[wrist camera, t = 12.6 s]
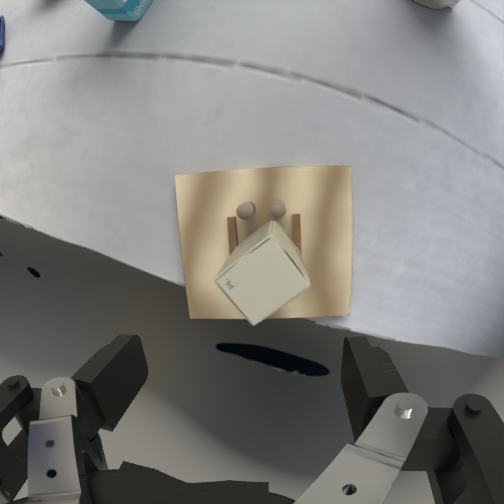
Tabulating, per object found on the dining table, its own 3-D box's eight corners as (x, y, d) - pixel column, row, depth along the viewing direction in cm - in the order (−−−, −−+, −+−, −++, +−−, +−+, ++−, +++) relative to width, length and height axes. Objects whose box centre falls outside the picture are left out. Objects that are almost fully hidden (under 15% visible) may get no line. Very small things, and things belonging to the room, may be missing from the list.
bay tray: (347, 166, 29) (359, 163, 24) (346, 309, 32) (356, 329, 28) (179, 175, 31) (162, 174, 26) (193, 313, 34) (180, 332, 30)
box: (260, 279, 30) (249, 330, 19) (234, 246, 30) (207, 282, 19) (302, 249, 29) (313, 286, 18) (275, 214, 29) (272, 232, 18)
